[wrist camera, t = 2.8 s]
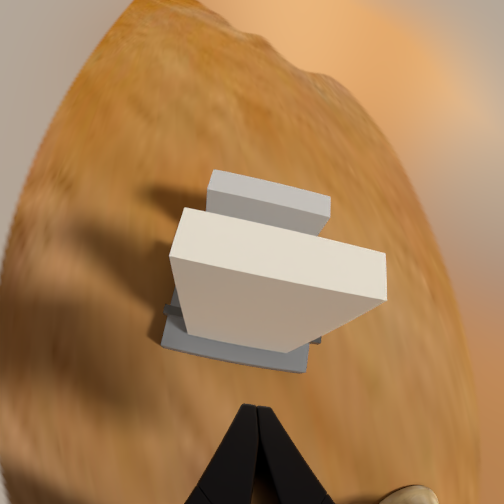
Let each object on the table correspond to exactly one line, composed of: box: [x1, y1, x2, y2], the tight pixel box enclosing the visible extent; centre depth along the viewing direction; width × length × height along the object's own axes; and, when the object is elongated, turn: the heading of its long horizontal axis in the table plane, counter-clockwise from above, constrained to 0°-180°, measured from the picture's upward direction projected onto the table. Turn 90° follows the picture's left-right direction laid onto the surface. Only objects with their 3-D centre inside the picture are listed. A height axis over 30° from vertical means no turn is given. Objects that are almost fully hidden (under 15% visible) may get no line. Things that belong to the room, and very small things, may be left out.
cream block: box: [163, 207, 387, 353], centre depth 13 cm, size 2×9×11 cm, turn 81°
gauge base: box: [161, 169, 330, 373], centre depth 18 cm, size 10×9×6 cm
